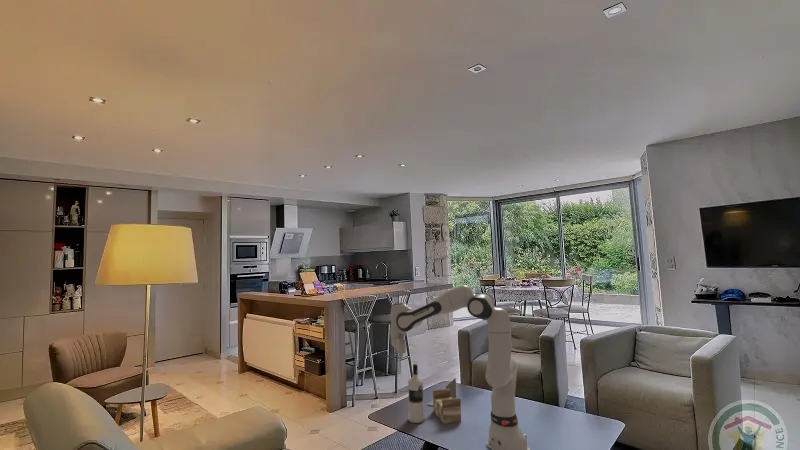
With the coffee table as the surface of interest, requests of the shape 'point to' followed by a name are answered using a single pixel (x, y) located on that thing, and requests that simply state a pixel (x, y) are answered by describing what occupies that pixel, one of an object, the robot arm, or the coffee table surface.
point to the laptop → (452, 390)
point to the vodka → (415, 397)
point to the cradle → (446, 406)
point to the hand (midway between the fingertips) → (398, 357)
